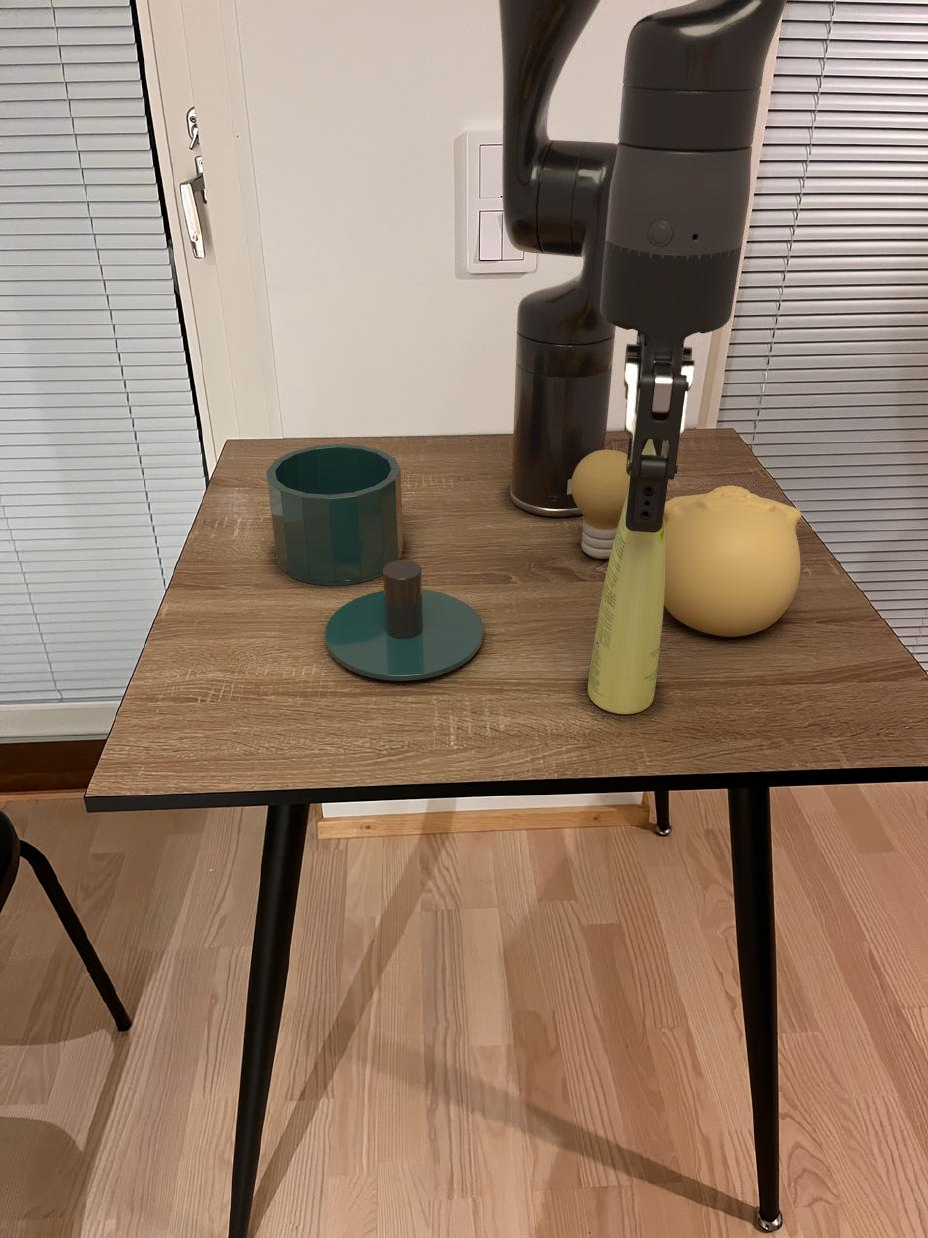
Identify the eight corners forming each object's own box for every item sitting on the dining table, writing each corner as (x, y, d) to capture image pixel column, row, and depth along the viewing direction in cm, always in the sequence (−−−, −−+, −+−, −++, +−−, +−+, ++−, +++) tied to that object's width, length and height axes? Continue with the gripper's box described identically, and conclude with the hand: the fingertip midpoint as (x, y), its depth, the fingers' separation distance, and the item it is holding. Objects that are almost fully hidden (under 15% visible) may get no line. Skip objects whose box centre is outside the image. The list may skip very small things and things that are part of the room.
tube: (674, 706, 70) (714, 457, 59) (622, 730, 68) (653, 476, 57) (622, 667, 74) (651, 428, 63) (571, 689, 72) (591, 445, 61)
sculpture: (774, 580, 85) (798, 468, 79) (800, 658, 75) (829, 536, 69) (644, 573, 86) (658, 462, 80) (652, 648, 76) (669, 527, 70)
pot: (297, 521, 94) (289, 440, 90) (413, 529, 93) (410, 447, 88) (259, 580, 85) (248, 493, 80) (387, 590, 83) (383, 502, 79)
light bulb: (641, 542, 91) (652, 444, 85) (628, 574, 86) (639, 472, 80) (575, 532, 93) (582, 434, 87) (559, 563, 88) (565, 461, 82)
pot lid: (348, 593, 83) (343, 525, 79) (492, 605, 81) (493, 537, 78) (306, 678, 72) (298, 605, 69) (470, 695, 71) (471, 620, 67)
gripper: (756, 265, 47) (708, 558, 56) (731, 212, 59) (695, 460, 67) (602, 259, 48) (579, 548, 56) (608, 208, 59) (588, 453, 68)
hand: (642, 500), depth 62 cm, fingers closed on tube, 7 cm apart
